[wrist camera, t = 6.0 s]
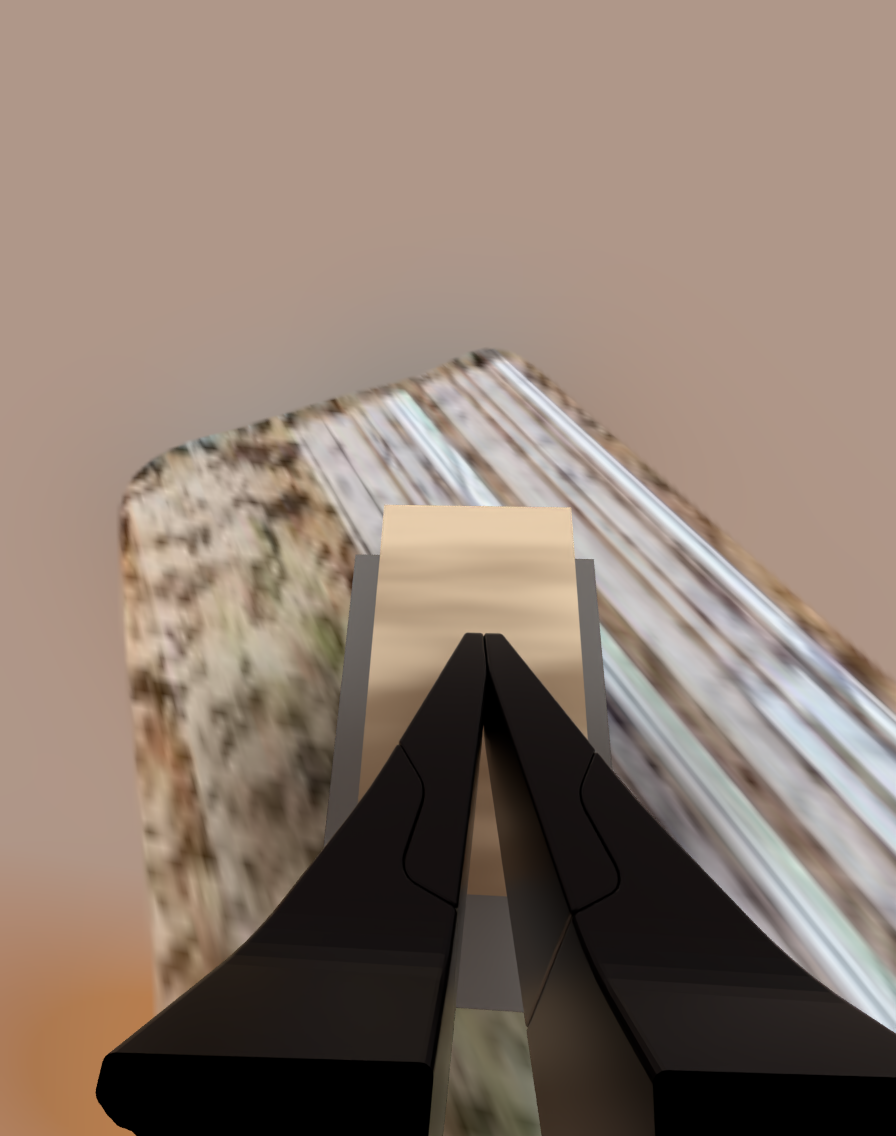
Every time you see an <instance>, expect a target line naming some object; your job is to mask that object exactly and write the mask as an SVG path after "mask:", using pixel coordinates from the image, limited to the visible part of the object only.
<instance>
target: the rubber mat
mask: <svg viewBox="0 0 896 1136" xmlns="http://www.w3.org/2000/svg"><path fill="white" fill-rule="evenodd" d="M379 561H380V555H356V557H355V566H354V575H353V584H352V593H351V602H350V611H349V620H348V629H347V638H346V648H345V657H344V666H343V675H342V684H341V693H340V702H339V711H338V720H337V729H336V739H335V748H334V757H333V766H332V775H331V784H330V793H329V802H328V811H327V820H326V829H325V839H324V847H325V845H326V844H327V843H328V841H329V840H330V839H331V838H332V836H333V835H334V834H335V832H336V831H337V830H338V829H339V827H340V826H341V825H342V824H343V822H344V821H345V820H346V818H347V817H348V816H349V814H350V813H351V812H352V810H353V809H354V808H355V806H356V805H357V804H358V795H359V784H360V773H361V762H362V750H363V739H364V728H365V717H366V706H367V695H368V683H369V672H370V661H371V650H372V639H373V628H374V617H375V605H376V594H377V583H378V572H379ZM575 569H576V583H577V597H578V611H579V624H580V638H581V652H582V666H583V679H584V693H585V707H586V721H587V735H588V741H589V742H590V743H591V745H592V746H593V747H594V748H595V753H596V752H597V753H599V754H600V755H601V757H602V758H603V759H604V760H605V762H606V763H607V764H608V765H609V767H610V768H611V769H612V762H611V750H610V739H609V728H608V716H607V705H606V694H605V682H604V671H603V660H602V648H601V637H600V626H599V614H598V603H597V592H596V580H595V569H594V559H575ZM456 1008H469V1009H484V1010H498V1011H513V1012H524V1010H523V1003H522V996H521V989H520V982H519V975H518V968H517V962H516V955H515V948H514V941H513V934H512V927H511V920H510V913H509V907H508V900H507V896H490V895H472V894H467V900H466V910H465V920H464V930H463V940H462V950H461V960H460V970H459V980H458V990H457V1000H456Z"/></svg>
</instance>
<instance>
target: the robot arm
mask: <svg viewBox="0 0 896 1136" xmlns="http://www.w3.org/2000/svg"><path fill="white" fill-rule="evenodd" d="M483 731H484V741H485V748H486V755H487V762H488V769H489V776H490V783H491V790H492V797H493V803H494V810H495V817H496V824H497V831H498V838H499V845H500V852H501V858H502V865H503V872H504V879H505V886H506V893H507V900H508V907H509V913H510V920H511V927H512V934H513V941H514V948H515V955H516V962H517V968H518V975H519V982H520V989H521V996H522V1003H523V1010H524V1016H525V1023H526V1026H527V1027H528V1029H527V1038H528V1045H529V1052H530V1058H531V1065H532V1072H533V1079H534V1086H535V1093H536V1100H537V1106H538V1113H539V1120H540V1127H541V1134H542V1136H896V1033H894V1032H893V1031H891V1030H890V1029H888V1028H887V1027H885V1026H883V1025H882V1024H880V1023H879V1022H877V1021H876V1020H874V1019H873V1018H871V1017H870V1016H868V1015H867V1014H865V1013H864V1012H862V1011H861V1010H859V1009H858V1008H856V1007H855V1006H853V1005H852V1004H850V1003H849V1002H847V1001H846V1000H844V999H843V998H841V997H840V996H838V995H837V994H835V993H834V992H833V991H832V990H830V989H829V988H828V987H826V986H825V985H824V984H822V983H821V982H820V981H818V980H817V979H816V978H814V977H813V976H812V975H811V974H810V973H808V972H807V971H806V970H805V969H804V968H802V967H801V966H800V965H799V964H798V963H796V962H795V961H794V960H793V959H792V958H790V957H789V956H788V955H787V954H786V953H785V952H784V951H783V950H782V949H781V948H780V947H778V946H777V945H776V944H775V943H774V942H773V941H772V940H771V939H770V938H769V937H768V936H767V935H766V934H765V933H764V932H763V931H762V930H761V929H760V928H759V927H758V926H757V925H756V924H755V923H754V922H753V921H752V920H751V919H750V918H749V917H748V916H747V915H746V914H745V913H744V912H743V911H742V910H741V909H740V908H739V906H738V905H737V904H736V903H735V902H734V901H733V900H732V899H731V898H730V897H729V896H728V895H727V894H726V893H725V892H724V891H723V890H722V889H721V888H720V887H719V886H718V885H717V884H716V882H715V881H714V880H713V879H712V878H711V877H710V876H709V875H708V874H707V873H706V872H705V871H704V870H703V869H702V868H701V867H700V866H699V865H698V864H697V863H696V862H695V861H694V860H693V858H692V857H691V856H690V855H689V854H688V853H687V852H686V851H685V850H684V849H683V848H682V847H681V846H680V845H679V844H678V843H677V842H676V841H675V840H674V839H673V838H672V837H671V836H670V834H669V833H668V832H667V831H666V830H665V829H664V828H663V827H662V826H661V825H660V824H659V823H658V822H657V820H656V819H655V818H654V817H653V816H652V815H651V814H650V813H649V812H648V811H647V810H646V809H645V807H644V806H643V805H642V804H641V803H640V802H639V801H638V800H637V799H636V798H635V796H634V795H633V794H632V793H631V792H630V791H629V789H628V788H627V787H626V786H625V785H624V783H623V782H622V781H621V780H620V779H619V778H618V776H617V775H616V774H615V773H614V772H613V770H612V769H611V768H610V767H609V765H608V764H607V763H606V762H605V760H604V759H603V758H602V757H601V755H600V754H599V753H597V752H596V753H595V748H594V747H593V746H592V745H591V743H590V742H589V741H588V740H587V738H586V737H585V736H584V735H583V733H582V732H581V731H580V730H579V728H578V727H577V726H576V725H575V723H574V722H573V721H572V720H571V718H570V717H569V716H568V715H567V713H566V712H565V711H564V710H563V709H562V707H561V706H560V705H559V704H558V702H557V701H556V700H555V699H554V697H553V696H552V695H551V694H550V692H549V691H548V690H547V689H546V687H545V686H544V685H543V684H542V682H541V681H540V680H539V679H538V677H537V676H536V675H535V674H534V673H533V671H532V670H531V669H530V668H529V666H528V665H527V664H526V663H525V661H524V660H523V659H522V658H521V656H520V655H519V654H518V653H517V651H516V650H515V649H514V648H513V646H512V645H511V644H510V643H509V641H508V640H507V639H506V638H505V637H504V635H503V634H501V633H485V634H484V636H483V634H482V633H471V632H467V633H465V634H464V635H463V637H462V639H461V640H460V642H459V644H458V645H457V647H456V649H455V650H454V652H453V653H452V655H451V657H450V658H449V660H448V662H447V663H446V665H445V667H444V668H443V670H442V671H441V673H440V675H439V676H438V678H437V680H436V681H435V683H434V685H433V686H432V688H431V690H430V691H429V693H428V694H427V696H426V698H425V699H424V701H423V703H422V704H421V706H420V708H419V709H418V711H417V712H416V714H415V716H414V717H413V719H412V721H411V722H410V724H409V726H408V727H407V729H406V731H405V732H404V734H403V735H402V737H401V739H400V740H399V745H396V747H395V748H394V750H393V751H392V753H391V755H390V756H389V758H388V760H387V761H386V763H385V764H384V766H383V767H382V769H381V771H380V772H379V774H378V775H377V777H376V778H375V780H374V781H373V783H372V784H371V786H370V787H369V789H368V790H367V791H366V793H365V794H364V795H363V797H362V798H361V800H360V801H359V802H358V804H357V805H356V806H355V808H354V809H353V810H352V812H351V813H350V814H349V816H348V817H347V818H346V820H345V821H344V822H343V824H342V825H341V826H340V827H339V829H338V830H337V831H336V832H335V834H334V835H333V836H332V838H331V839H330V840H329V841H328V843H327V844H326V845H325V847H324V848H323V849H322V850H321V852H320V853H319V854H318V856H317V857H316V858H315V859H314V861H313V862H312V863H311V864H310V866H309V867H308V868H307V870H306V871H305V872H304V873H303V875H302V876H301V877H300V879H299V880H298V881H297V882H296V884H295V885H294V886H293V888H292V889H291V890H290V891H289V893H288V894H287V895H286V897H285V898H284V899H283V900H282V901H281V903H280V904H279V905H278V906H277V908H276V909H275V910H274V911H273V913H272V914H271V915H270V916H269V917H268V918H267V919H266V921H265V922H264V923H263V924H262V925H261V926H260V927H259V928H258V929H257V931H256V932H255V933H254V934H253V935H252V936H251V937H250V938H249V939H248V940H247V941H246V942H245V943H244V944H243V945H242V946H240V947H239V948H238V949H237V950H236V951H235V952H234V953H233V954H232V955H231V956H230V957H228V958H227V959H226V960H225V961H224V962H222V963H221V964H220V965H219V966H218V967H216V968H215V969H214V970H213V971H211V972H210V973H209V974H208V975H206V976H205V977H204V978H203V979H201V980H200V981H199V982H198V983H196V984H195V985H194V986H193V987H191V988H190V989H189V990H188V991H186V992H185V993H184V994H183V995H181V996H180V997H179V998H178V999H176V1000H175V1001H174V1002H173V1003H171V1004H170V1005H169V1006H168V1007H166V1008H165V1009H164V1010H163V1011H161V1012H160V1013H159V1014H158V1015H156V1016H155V1017H154V1018H153V1019H151V1020H150V1021H149V1022H148V1023H147V1024H145V1025H144V1026H143V1027H141V1028H140V1029H139V1030H138V1031H136V1032H135V1033H134V1034H133V1035H131V1036H130V1037H129V1038H128V1039H126V1040H125V1041H124V1042H123V1043H122V1044H120V1045H119V1046H118V1047H116V1048H115V1049H114V1050H113V1051H111V1052H110V1053H109V1054H108V1055H106V1056H105V1058H104V1060H103V1062H102V1066H101V1070H100V1075H99V1079H98V1083H97V1087H96V1098H97V1100H98V1102H99V1103H100V1105H101V1106H102V1107H103V1109H104V1111H105V1112H106V1114H107V1115H108V1116H109V1117H110V1118H111V1119H112V1120H113V1121H114V1122H115V1123H116V1125H118V1126H119V1127H122V1128H125V1129H128V1130H130V1131H132V1132H133V1133H134V1134H135V1135H136V1136H443V1131H444V1121H445V1111H446V1101H447V1091H448V1081H449V1071H450V1061H451V1051H452V1040H453V1030H454V1019H455V1010H456V1000H457V990H458V980H459V970H460V960H461V950H462V940H463V930H464V920H465V910H466V900H467V890H468V880H469V870H470V859H471V849H472V839H473V829H474V819H475V809H476V799H477V789H478V779H479V769H480V759H481V749H482V737H483Z"/></svg>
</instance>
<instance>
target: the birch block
mask: <svg viewBox="0 0 896 1136" xmlns="http://www.w3.org/2000/svg"><path fill="white" fill-rule="evenodd" d="M467 632H471V633H482V634H483V636H484V634H485V633H501V634H503V635H504V637H505V638H506V639H507V640H508V641H509V643H510V644H511V645H512V646H513V648H514V649H515V650H516V651H517V653H518V654H519V655H520V656H521V658H522V659H523V660H524V661H525V663H526V664H527V665H528V666H529V668H530V669H531V670H532V671H533V673H534V674H535V675H536V676H537V677H538V679H539V680H540V681H541V682H542V684H543V685H544V686H545V687H546V689H547V690H548V691H549V692H550V694H551V695H552V696H553V697H554V699H555V700H556V701H557V702H558V704H559V705H560V706H561V707H562V709H563V710H564V711H565V712H566V713H567V715H568V716H569V717H570V718H571V720H572V721H573V722H574V723H575V725H576V726H577V727H578V728H579V730H580V731H581V732H582V733H583V735H584V736H585V737H586V738H587V740H588V735H587V721H586V707H585V693H584V679H583V666H582V652H581V638H580V624H579V611H578V597H577V583H576V569H575V555H574V542H573V528H572V514H571V508H559V507H492V506H425V505H384V516H383V527H382V538H381V550H380V561H379V572H378V583H377V594H376V605H375V617H374V628H373V639H372V650H371V661H370V672H369V683H368V695H367V706H366V717H365V728H364V739H363V750H362V762H361V773H360V784H359V795H358V802H359V801H360V800H361V798H362V797H363V795H364V794H365V793H366V791H367V790H368V789H369V787H370V786H371V784H372V783H373V781H374V780H375V778H376V777H377V775H378V774H379V772H380V771H381V769H382V767H383V766H384V764H385V763H386V761H387V760H388V758H389V756H390V755H391V753H392V751H393V750H394V748H395V747H396V745H399V740H400V739H401V737H402V735H403V734H404V732H405V731H406V729H407V727H408V726H409V724H410V722H411V721H412V719H413V717H414V716H415V714H416V712H417V711H418V709H419V708H420V706H421V704H422V703H423V701H424V699H425V698H426V696H427V694H428V693H429V691H430V690H431V688H432V686H433V685H434V683H435V681H436V680H437V678H438V676H439V675H440V673H441V671H442V670H443V668H444V667H445V665H446V663H447V662H448V660H449V658H450V657H451V655H452V653H453V652H454V650H455V649H456V647H457V645H458V644H459V642H460V640H461V639H462V637H463V635H464V634H465V633H467ZM467 894H472V895H490V896H507V893H506V886H505V879H504V872H503V865H502V858H501V852H500V845H499V838H498V831H497V824H496V817H495V810H494V803H493V797H492V790H491V783H490V776H489V769H488V762H487V755H486V748H485V741H484V731H483V737H482V749H481V759H480V769H479V779H478V789H477V799H476V809H475V819H474V829H473V839H472V849H471V859H470V870H469V880H468V890H467Z"/></svg>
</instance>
